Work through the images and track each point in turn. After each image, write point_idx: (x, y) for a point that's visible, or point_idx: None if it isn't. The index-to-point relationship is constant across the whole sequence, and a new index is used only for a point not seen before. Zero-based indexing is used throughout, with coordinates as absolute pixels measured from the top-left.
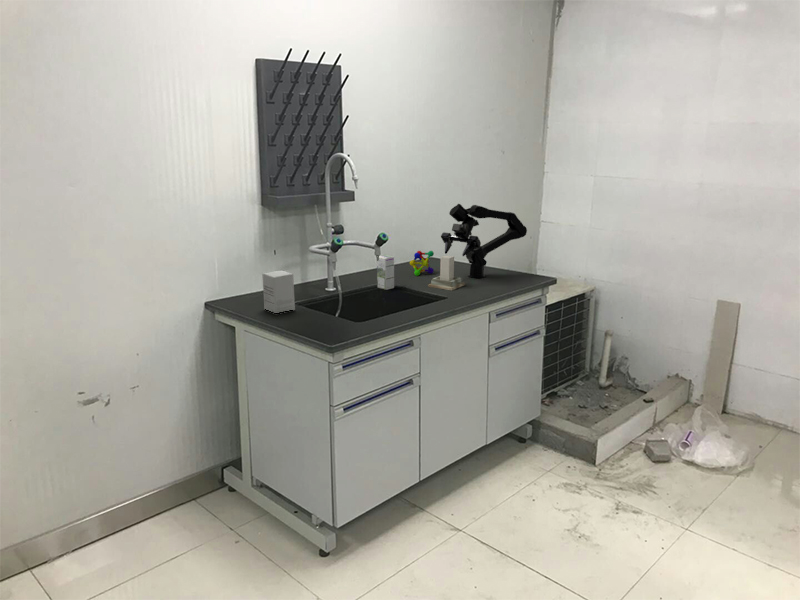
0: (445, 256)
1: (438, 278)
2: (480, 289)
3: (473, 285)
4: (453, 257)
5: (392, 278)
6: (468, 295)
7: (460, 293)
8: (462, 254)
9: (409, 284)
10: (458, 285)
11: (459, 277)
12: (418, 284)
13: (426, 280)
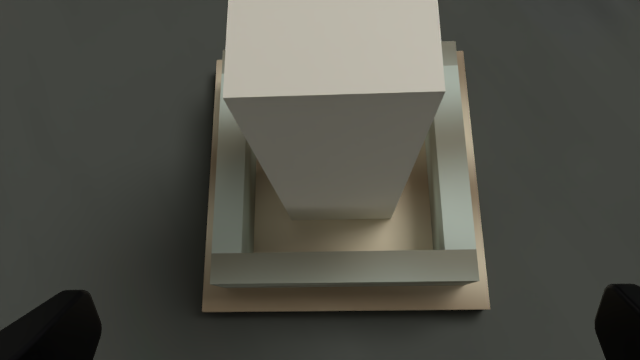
0: (386, 8)
1: (433, 140)
2: (18, 241)
3: (127, 346)
4: (227, 74)
5: None
6: (49, 22)
7: (125, 35)
8: (78, 292)
9: (637, 32)
10: (211, 174)
11: (241, 272)
12: (576, 75)
13: (631, 251)
